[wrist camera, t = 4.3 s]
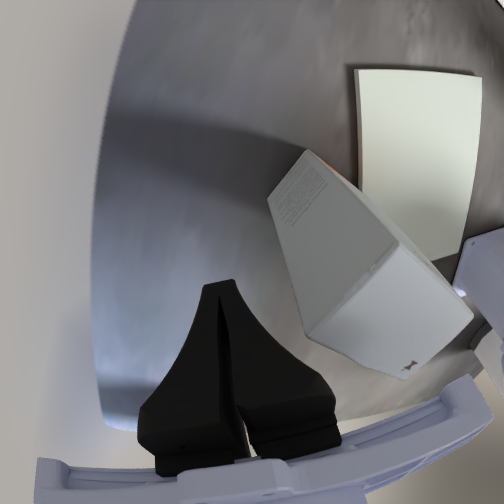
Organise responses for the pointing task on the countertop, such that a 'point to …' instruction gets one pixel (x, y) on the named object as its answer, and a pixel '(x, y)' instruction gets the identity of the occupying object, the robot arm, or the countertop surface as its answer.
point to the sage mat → (419, 151)
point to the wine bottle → (489, 354)
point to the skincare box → (360, 274)
